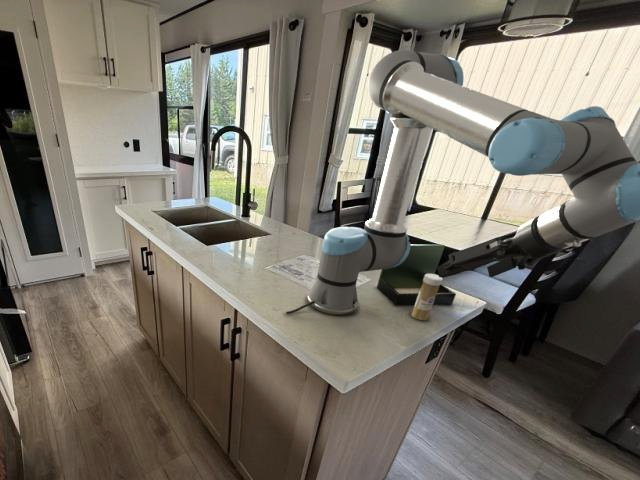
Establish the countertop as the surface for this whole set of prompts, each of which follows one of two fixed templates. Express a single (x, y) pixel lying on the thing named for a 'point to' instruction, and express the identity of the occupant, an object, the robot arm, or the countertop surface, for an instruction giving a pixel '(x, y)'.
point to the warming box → (414, 276)
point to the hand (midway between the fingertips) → (464, 272)
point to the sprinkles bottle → (426, 296)
